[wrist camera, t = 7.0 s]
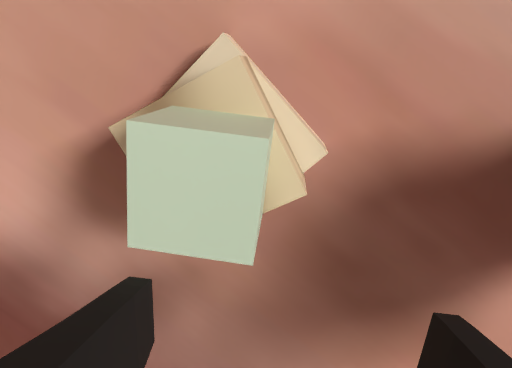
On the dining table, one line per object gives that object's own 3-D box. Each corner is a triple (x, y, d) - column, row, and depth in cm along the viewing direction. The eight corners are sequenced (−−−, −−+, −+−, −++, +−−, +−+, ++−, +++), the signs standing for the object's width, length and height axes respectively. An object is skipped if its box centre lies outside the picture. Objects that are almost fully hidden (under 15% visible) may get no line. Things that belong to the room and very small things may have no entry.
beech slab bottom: (232, 36, 17) (223, 32, 15) (323, 141, 18) (328, 152, 16) (142, 130, 19) (121, 140, 17) (229, 218, 20) (221, 239, 18)
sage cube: (274, 118, 13) (269, 138, 9) (262, 214, 14) (253, 265, 11) (172, 105, 13) (126, 120, 10) (169, 200, 15) (127, 246, 11)
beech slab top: (246, 56, 15) (238, 55, 12) (304, 175, 16) (306, 194, 14) (134, 118, 16) (108, 127, 14) (197, 223, 18) (183, 247, 15)
